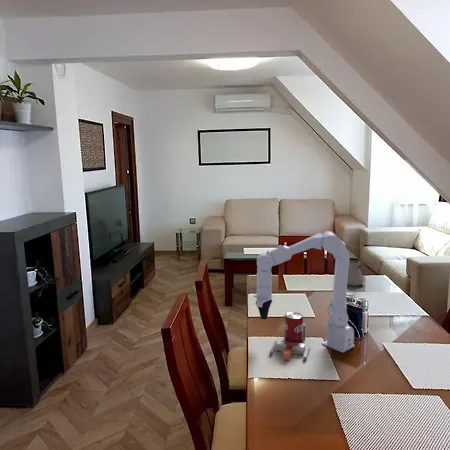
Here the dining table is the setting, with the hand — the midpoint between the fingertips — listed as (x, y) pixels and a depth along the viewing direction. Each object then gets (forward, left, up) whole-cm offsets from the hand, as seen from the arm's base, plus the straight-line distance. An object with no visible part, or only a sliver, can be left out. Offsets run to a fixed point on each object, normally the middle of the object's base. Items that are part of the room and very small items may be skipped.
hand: (263, 318), depth 159 cm
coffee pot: (+14, -86, -10) cm, 88 cm away
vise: (-10, -5, -10) cm, 15 cm away
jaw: (-13, 0, -10) cm, 16 cm away
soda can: (-9, -7, -10) cm, 15 cm away
